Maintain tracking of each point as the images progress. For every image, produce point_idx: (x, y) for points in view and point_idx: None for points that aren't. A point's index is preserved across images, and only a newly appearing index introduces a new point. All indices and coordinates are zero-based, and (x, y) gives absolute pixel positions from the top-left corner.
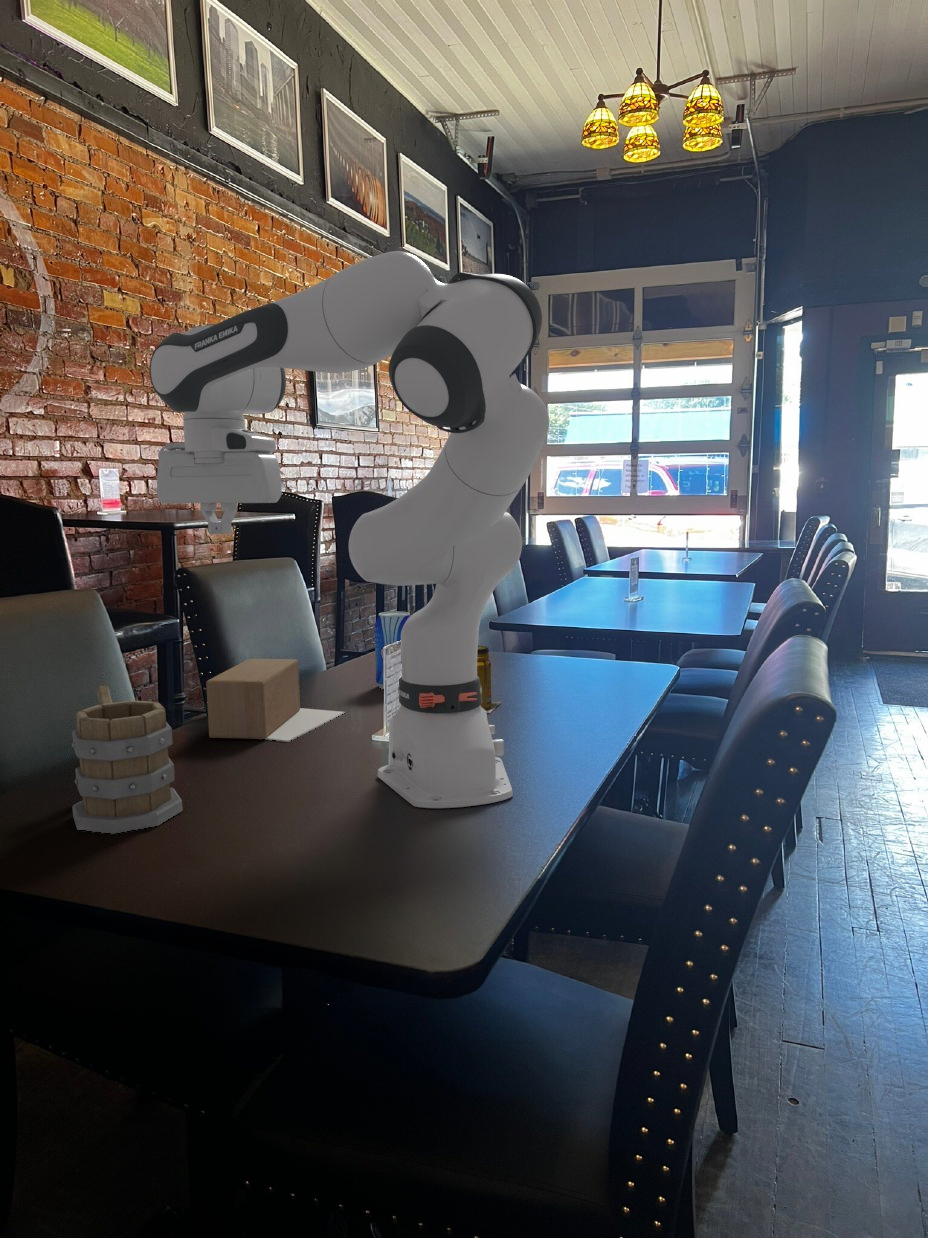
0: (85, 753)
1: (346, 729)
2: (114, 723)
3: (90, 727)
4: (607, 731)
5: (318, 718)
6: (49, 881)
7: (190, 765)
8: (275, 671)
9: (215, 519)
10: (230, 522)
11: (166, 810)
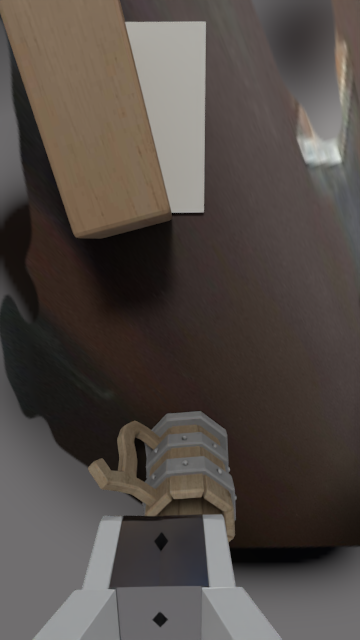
0: None
1: (249, 122)
2: None
3: None
4: None
5: (184, 83)
6: None
7: (147, 327)
8: (143, 122)
9: (100, 630)
10: (233, 587)
11: (227, 453)
